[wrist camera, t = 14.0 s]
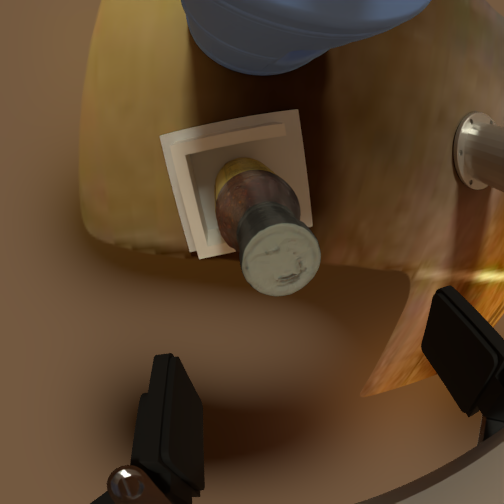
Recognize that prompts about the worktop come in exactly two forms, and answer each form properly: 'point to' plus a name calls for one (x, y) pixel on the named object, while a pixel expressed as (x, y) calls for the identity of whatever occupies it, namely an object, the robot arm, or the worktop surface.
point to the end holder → (221, 152)
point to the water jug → (287, 29)
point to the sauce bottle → (265, 227)
